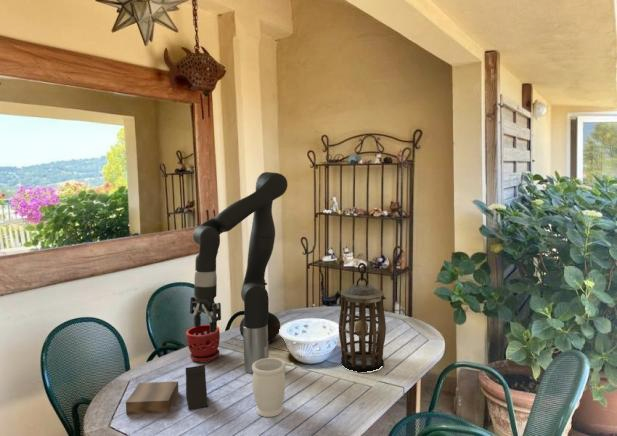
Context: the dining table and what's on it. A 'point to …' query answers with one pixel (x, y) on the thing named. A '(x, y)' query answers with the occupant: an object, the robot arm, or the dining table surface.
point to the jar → (268, 386)
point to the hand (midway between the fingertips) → (204, 329)
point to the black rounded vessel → (272, 325)
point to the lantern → (362, 326)
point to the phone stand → (196, 387)
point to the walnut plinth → (152, 398)
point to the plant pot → (203, 343)
